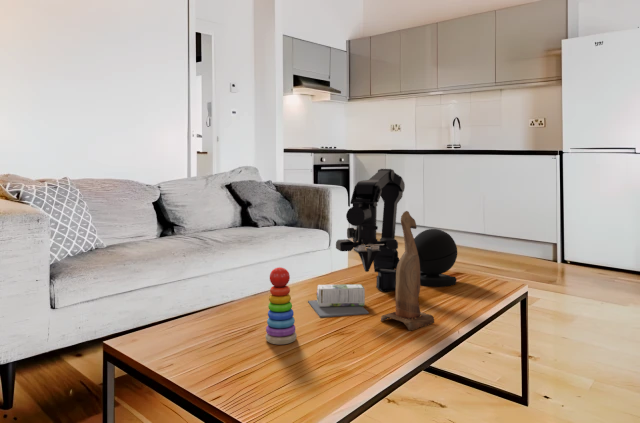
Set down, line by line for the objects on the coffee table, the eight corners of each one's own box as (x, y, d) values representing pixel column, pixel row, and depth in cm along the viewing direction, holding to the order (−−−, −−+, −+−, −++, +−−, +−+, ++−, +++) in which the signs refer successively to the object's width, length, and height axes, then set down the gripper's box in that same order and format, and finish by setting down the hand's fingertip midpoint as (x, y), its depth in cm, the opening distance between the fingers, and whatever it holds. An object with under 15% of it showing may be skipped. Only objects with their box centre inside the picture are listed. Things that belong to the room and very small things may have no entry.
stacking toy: (301, 336, 128) (301, 265, 126) (289, 347, 121) (289, 272, 119) (273, 333, 131) (272, 263, 129) (260, 343, 123) (259, 270, 121)
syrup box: (361, 301, 159) (316, 302, 157) (361, 283, 158) (316, 284, 157) (365, 306, 153) (318, 307, 151) (365, 287, 152) (318, 288, 151)
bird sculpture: (436, 324, 139) (440, 211, 137) (410, 332, 131) (414, 213, 129) (404, 315, 148) (408, 208, 145) (378, 322, 140) (381, 210, 137)
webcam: (465, 284, 182) (467, 230, 180) (426, 288, 176) (428, 233, 174) (437, 274, 198) (438, 225, 196) (400, 278, 192) (401, 227, 190)
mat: (352, 299, 163) (352, 297, 163) (368, 313, 147) (368, 312, 147) (308, 302, 159) (308, 300, 159) (320, 317, 144) (320, 315, 144)
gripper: (385, 218, 163) (385, 264, 164) (331, 219, 158) (331, 267, 160) (399, 222, 152) (398, 272, 154) (341, 224, 147) (340, 275, 149)
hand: (366, 271), depth 154 cm, fingers closed
